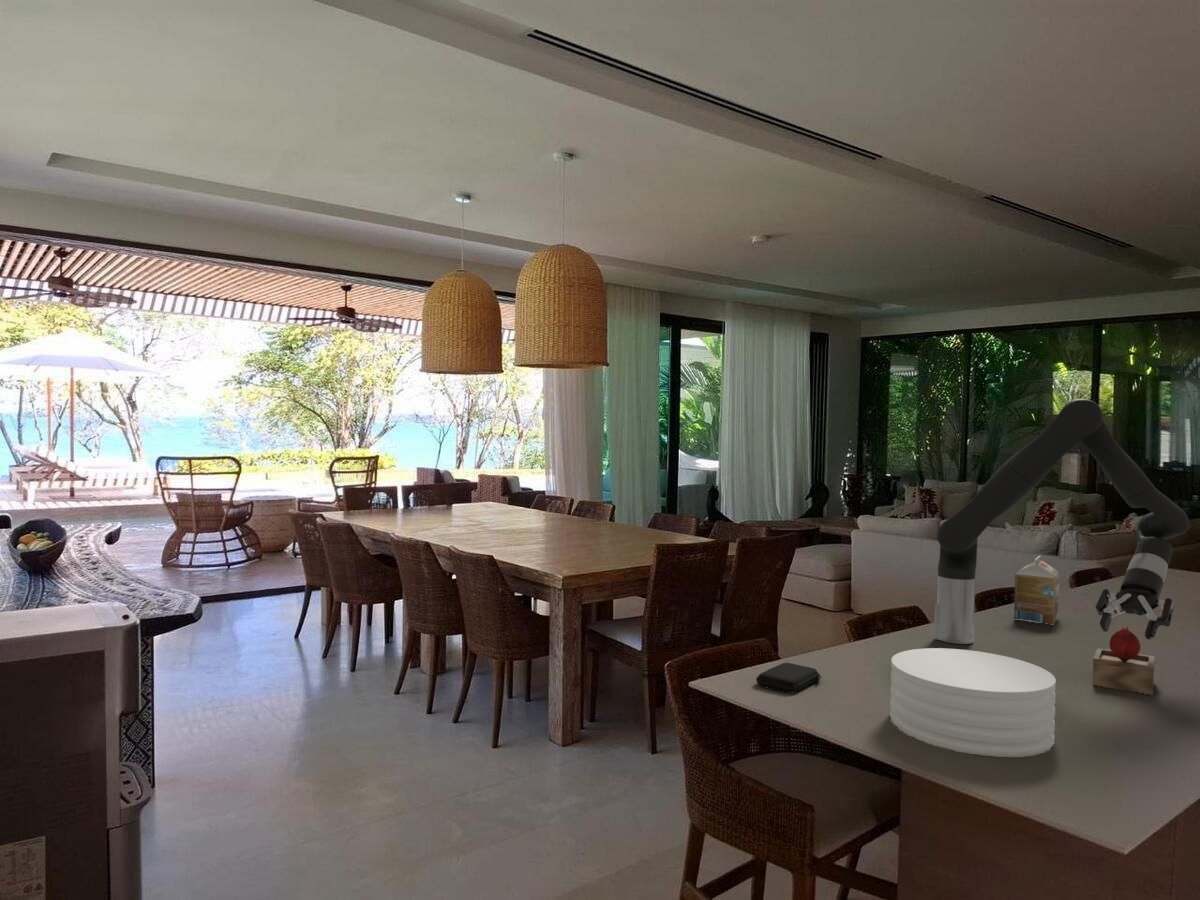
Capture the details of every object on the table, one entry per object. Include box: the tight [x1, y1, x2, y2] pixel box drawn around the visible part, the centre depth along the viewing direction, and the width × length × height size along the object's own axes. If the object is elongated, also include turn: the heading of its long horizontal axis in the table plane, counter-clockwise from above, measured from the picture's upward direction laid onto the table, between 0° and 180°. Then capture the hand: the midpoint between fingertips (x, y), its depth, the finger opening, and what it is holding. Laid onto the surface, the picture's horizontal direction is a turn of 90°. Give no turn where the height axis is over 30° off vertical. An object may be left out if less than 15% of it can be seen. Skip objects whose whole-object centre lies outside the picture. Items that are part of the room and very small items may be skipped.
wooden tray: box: [1092, 647, 1156, 696], centre depth 179 cm, size 11×11×6 cm
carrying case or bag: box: [755, 662, 822, 693], centre depth 176 cm, size 11×3×15 cm
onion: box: [1109, 625, 1141, 662], centre depth 179 cm, size 6×6×8 cm
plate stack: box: [889, 647, 1057, 755], centre depth 150 cm, size 28×28×12 cm
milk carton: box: [1013, 555, 1061, 625], centre depth 242 cm, size 11×11×19 cm
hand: (1125, 633), depth 179 cm, fingers open, 8 cm apart
